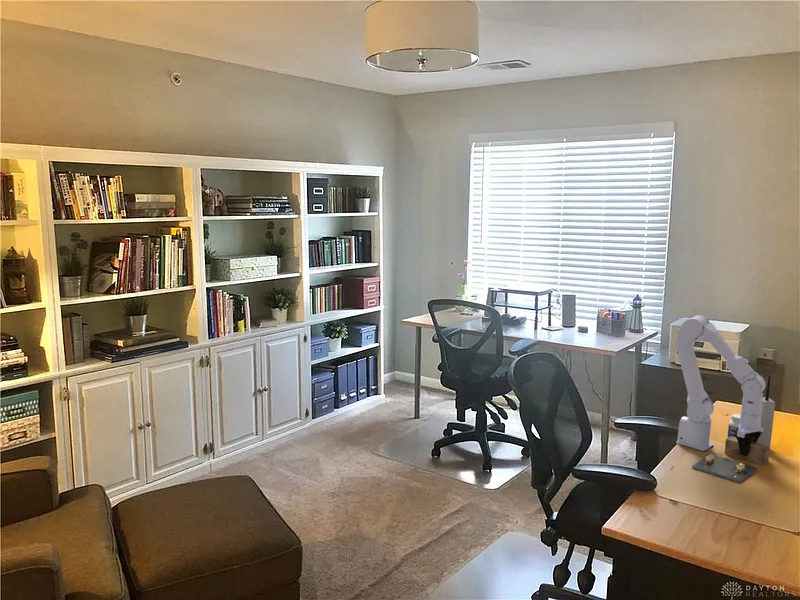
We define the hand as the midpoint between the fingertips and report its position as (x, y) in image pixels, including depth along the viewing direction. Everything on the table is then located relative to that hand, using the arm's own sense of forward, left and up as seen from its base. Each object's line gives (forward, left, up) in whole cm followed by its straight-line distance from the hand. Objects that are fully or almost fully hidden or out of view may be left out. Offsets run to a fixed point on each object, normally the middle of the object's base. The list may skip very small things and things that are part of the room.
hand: (746, 453), depth 211 cm
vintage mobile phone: (0, +13, -2) cm, 13 cm away
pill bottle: (-7, +10, -2) cm, 12 cm away
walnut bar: (0, 0, -2) cm, 2 cm away
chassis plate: (-1, -15, -1) cm, 15 cm away
